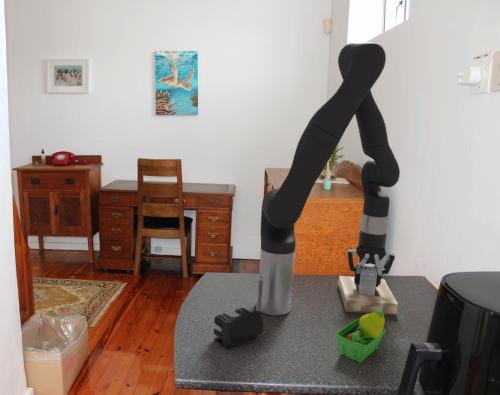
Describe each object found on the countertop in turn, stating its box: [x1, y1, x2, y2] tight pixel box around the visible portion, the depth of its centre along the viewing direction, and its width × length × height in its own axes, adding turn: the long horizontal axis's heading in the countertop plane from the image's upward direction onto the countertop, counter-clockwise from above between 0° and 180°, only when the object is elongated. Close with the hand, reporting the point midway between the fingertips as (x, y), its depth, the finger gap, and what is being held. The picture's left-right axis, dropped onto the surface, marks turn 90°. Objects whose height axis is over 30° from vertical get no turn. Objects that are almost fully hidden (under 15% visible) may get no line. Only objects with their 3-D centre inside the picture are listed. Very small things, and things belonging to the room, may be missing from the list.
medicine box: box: [358, 264, 377, 296], centre depth 134 cm, size 8×4×9 cm, turn 169°
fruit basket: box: [335, 310, 387, 363], centre depth 105 cm, size 11×9×11 cm
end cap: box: [213, 307, 265, 349], centre depth 107 cm, size 10×7×7 cm
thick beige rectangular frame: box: [337, 275, 399, 317], centre depth 135 cm, size 14×18×4 cm
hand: (366, 285), depth 134 cm, fingers closed on medicine box, 4 cm apart
